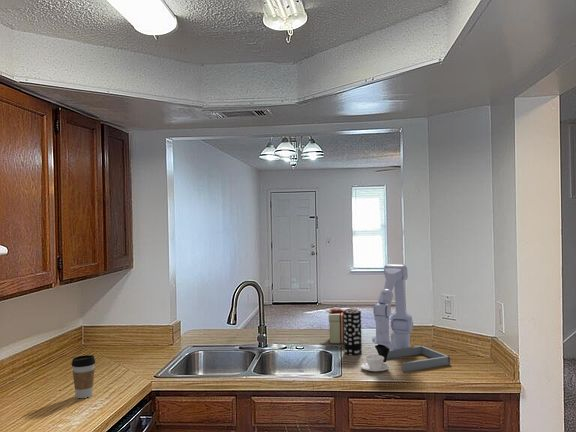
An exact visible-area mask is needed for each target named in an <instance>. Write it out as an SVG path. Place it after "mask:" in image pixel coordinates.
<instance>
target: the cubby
mask: <svg viewBox="0 0 576 432" xmlns="http://www.w3.org/2000/svg"><path fill="white" fill-rule="evenodd" d="M416 355H423V356H425V357H429V358H426V359H419V360H411V361H405V362H404V361H403V362H402V372H411V371H418V370H419V371H420V370H424V369H431V368H438V367H444V365H445V366H450V365H451V357H450V356H449V355H448V354H447V355H446V354H445V353H442V352H439V351H436V350H434V349H431V348H429V347H426V346H423V345H417V346H410V347H408V348H401V349H393V350H392V349H391V350H389V352H388V355H387V360H388V359H396V358H403V357H408V356H416Z"/></svg>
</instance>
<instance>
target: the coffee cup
mask: <svg viewBox="0 0 576 432" xmlns="http://www.w3.org/2000/svg"><path fill="white" fill-rule="evenodd" d="M71 360H72V361H71V367H72V378H73V379H72V380H73V385H74V391H75V393H74V394H75V398H76V399H77V398H86V399H88V398H87V397H89V398H91V397H92V396H93V394H94V393H93V392H94V382H95V381H94V379H95V364H96V358H95V355H91V354H87V355H79V356H78V355H77V356H75V357H73V358H72V359H71Z"/></svg>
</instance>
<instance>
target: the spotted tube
mask: <svg viewBox="0 0 576 432" xmlns="http://www.w3.org/2000/svg"><path fill="white" fill-rule="evenodd" d="M362 343H363V342H362V311H360V310H359V309H358V310H347V311H344V343H343V347H344V348H343V349H344V350H343V351H344V354H345V355H347V356H360V355H362V353H363V352H362V351H363V350H362V347H363V345H362Z"/></svg>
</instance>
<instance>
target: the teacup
mask: <svg viewBox="0 0 576 432" xmlns="http://www.w3.org/2000/svg"><path fill="white" fill-rule="evenodd" d="M364 360H365V361H366V362H364ZM383 360H384V357H383V356H380V355H379V354H368V355H365V357H361V361H362V364H361V365H360V368H362V369H363V370H365V371H371V372H380V371H381V372H383V371H387V370H389V368H390V365H388V364H386V363H385V362H383Z"/></svg>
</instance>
